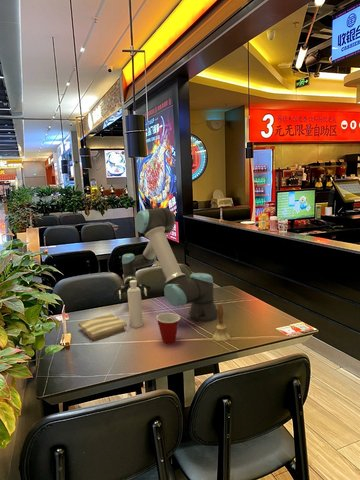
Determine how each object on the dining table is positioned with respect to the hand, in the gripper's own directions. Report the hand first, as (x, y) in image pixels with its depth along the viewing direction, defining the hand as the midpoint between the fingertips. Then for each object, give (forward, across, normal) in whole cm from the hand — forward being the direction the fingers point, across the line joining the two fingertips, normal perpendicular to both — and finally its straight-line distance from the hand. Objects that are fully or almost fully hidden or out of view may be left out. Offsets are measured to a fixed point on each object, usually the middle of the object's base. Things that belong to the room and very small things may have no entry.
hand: (133, 295), depth 190 cm
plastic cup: (+32, -14, -14) cm, 37 cm away
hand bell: (+35, -37, -14) cm, 53 cm away
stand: (+10, +17, -13) cm, 24 cm away
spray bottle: (+8, 0, -14) cm, 16 cm away
